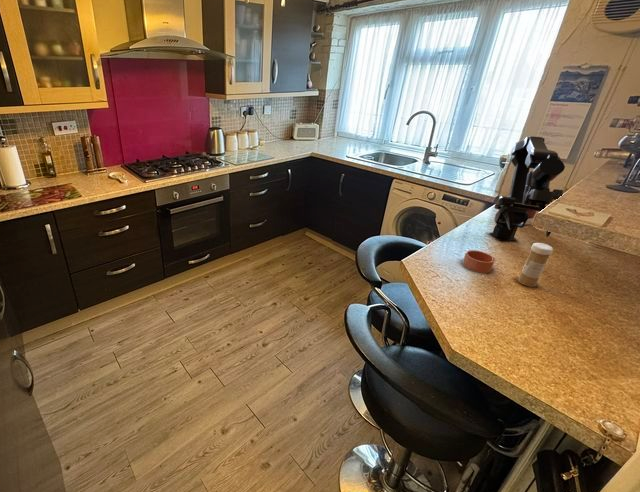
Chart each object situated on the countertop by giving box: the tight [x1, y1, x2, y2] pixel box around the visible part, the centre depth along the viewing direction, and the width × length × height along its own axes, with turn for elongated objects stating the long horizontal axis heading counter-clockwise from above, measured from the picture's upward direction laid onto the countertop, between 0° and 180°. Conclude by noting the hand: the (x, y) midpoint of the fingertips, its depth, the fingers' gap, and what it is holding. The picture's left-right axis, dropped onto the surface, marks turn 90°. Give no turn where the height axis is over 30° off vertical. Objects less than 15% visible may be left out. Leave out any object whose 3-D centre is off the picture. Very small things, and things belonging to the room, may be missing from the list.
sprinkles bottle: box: [517, 242, 554, 288], centre depth 98 cm, size 5×5×13 cm
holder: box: [462, 249, 496, 274], centre depth 109 cm, size 8×8×4 cm
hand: (528, 232), depth 101 cm, fingers open, 9 cm apart
